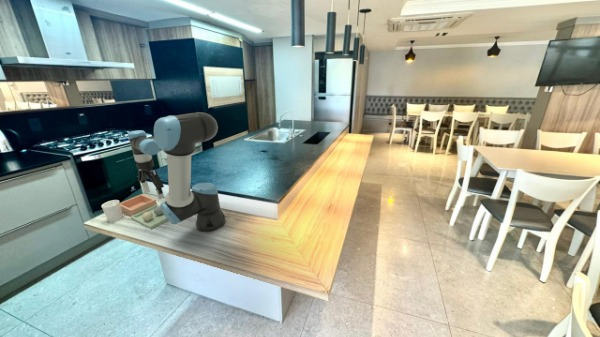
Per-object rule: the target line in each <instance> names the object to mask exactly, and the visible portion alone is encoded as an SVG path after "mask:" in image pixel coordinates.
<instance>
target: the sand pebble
mask: <svg viewBox="0 0 600 337" xmlns="http://www.w3.org/2000/svg"><path fill="white" fill-rule="evenodd" d="M152 217H153V214H152V213H151V212H145V213H144V214H143V215H142V219H143V220H145V221H149V220H151V219H152Z"/></svg>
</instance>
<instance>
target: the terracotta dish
mask: <svg viewBox="0 0 600 337" xmlns="http://www.w3.org/2000/svg"><path fill="white" fill-rule="evenodd" d="M155 205H158V203H157V200H156V199H155V198H152V197H150V196H148V195H146V194H142V193H141V194H139V195H137V196H134V197H131V198H129V199H126V200H124V201H122V202H120V206H121V209H122V214H125V215H127V216H129V217H131V216H133V215H135V214H137V213H140V212H142V211H144V210H146V209H148V208H150V207H152V206H155Z"/></svg>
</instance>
